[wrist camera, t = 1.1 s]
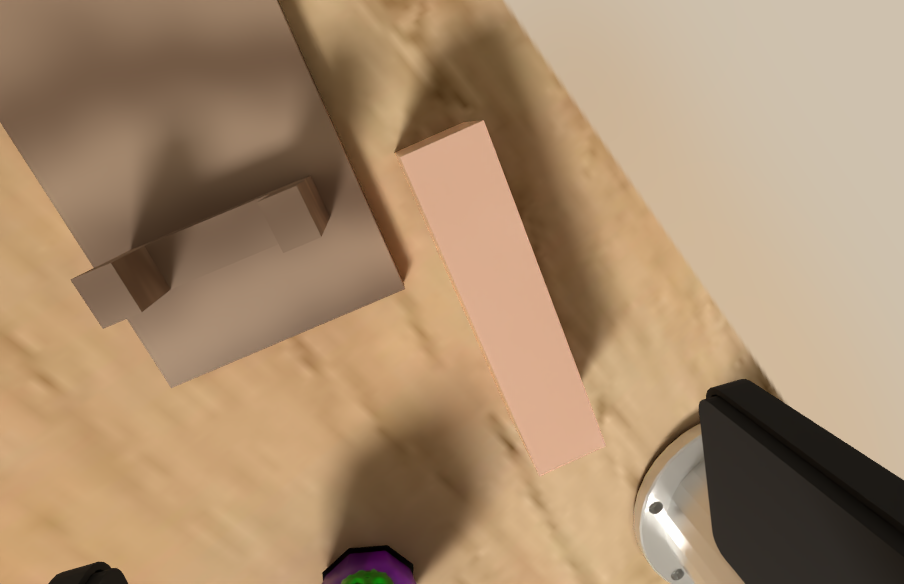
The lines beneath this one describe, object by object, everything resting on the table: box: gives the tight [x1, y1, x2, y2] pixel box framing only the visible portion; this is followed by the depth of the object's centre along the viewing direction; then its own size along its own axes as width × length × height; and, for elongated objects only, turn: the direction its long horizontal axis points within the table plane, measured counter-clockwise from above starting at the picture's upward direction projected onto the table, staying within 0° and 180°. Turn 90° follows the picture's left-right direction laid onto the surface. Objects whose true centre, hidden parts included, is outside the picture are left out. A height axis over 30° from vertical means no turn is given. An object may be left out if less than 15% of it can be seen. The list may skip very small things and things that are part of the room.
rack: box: [0, 0, 405, 388], centre depth 20 cm, size 24×12×6 cm, turn 22°
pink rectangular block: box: [395, 120, 606, 476], centre depth 26 cm, size 16×4×5 cm, turn 23°
